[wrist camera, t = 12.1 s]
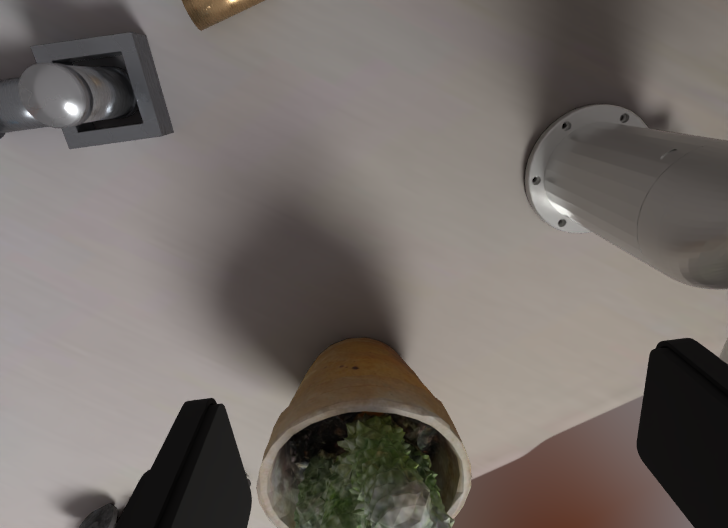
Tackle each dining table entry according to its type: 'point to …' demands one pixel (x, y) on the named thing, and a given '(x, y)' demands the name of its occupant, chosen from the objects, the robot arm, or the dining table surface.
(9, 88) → the grey framed piece
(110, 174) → the dining table surface
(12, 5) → the dining table surface
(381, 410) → the potted plant
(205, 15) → the bronze tee
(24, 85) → the silver capped cylinder
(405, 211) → the dining table surface
